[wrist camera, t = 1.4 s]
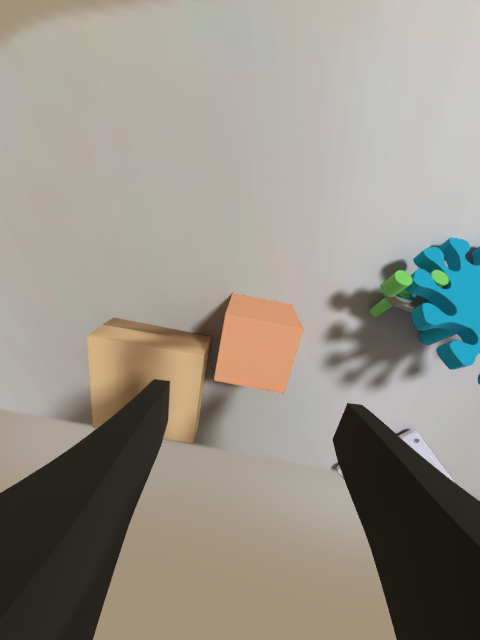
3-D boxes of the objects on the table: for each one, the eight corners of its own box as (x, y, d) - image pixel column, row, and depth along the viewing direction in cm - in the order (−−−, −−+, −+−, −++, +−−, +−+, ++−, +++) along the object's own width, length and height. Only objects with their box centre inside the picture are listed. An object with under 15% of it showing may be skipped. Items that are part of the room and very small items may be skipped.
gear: (585, 266, 15) (638, 434, 11) (486, 310, 20) (495, 433, 16) (409, 204, 16) (394, 338, 11) (359, 262, 21) (336, 368, 17)
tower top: (209, 342, 18) (204, 355, 16) (198, 424, 21) (193, 443, 19) (103, 324, 18) (86, 335, 16) (107, 409, 21) (92, 427, 19)
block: (290, 304, 19) (303, 328, 14) (276, 355, 20) (283, 393, 15) (232, 292, 18) (225, 313, 14) (223, 345, 20) (213, 380, 15)
